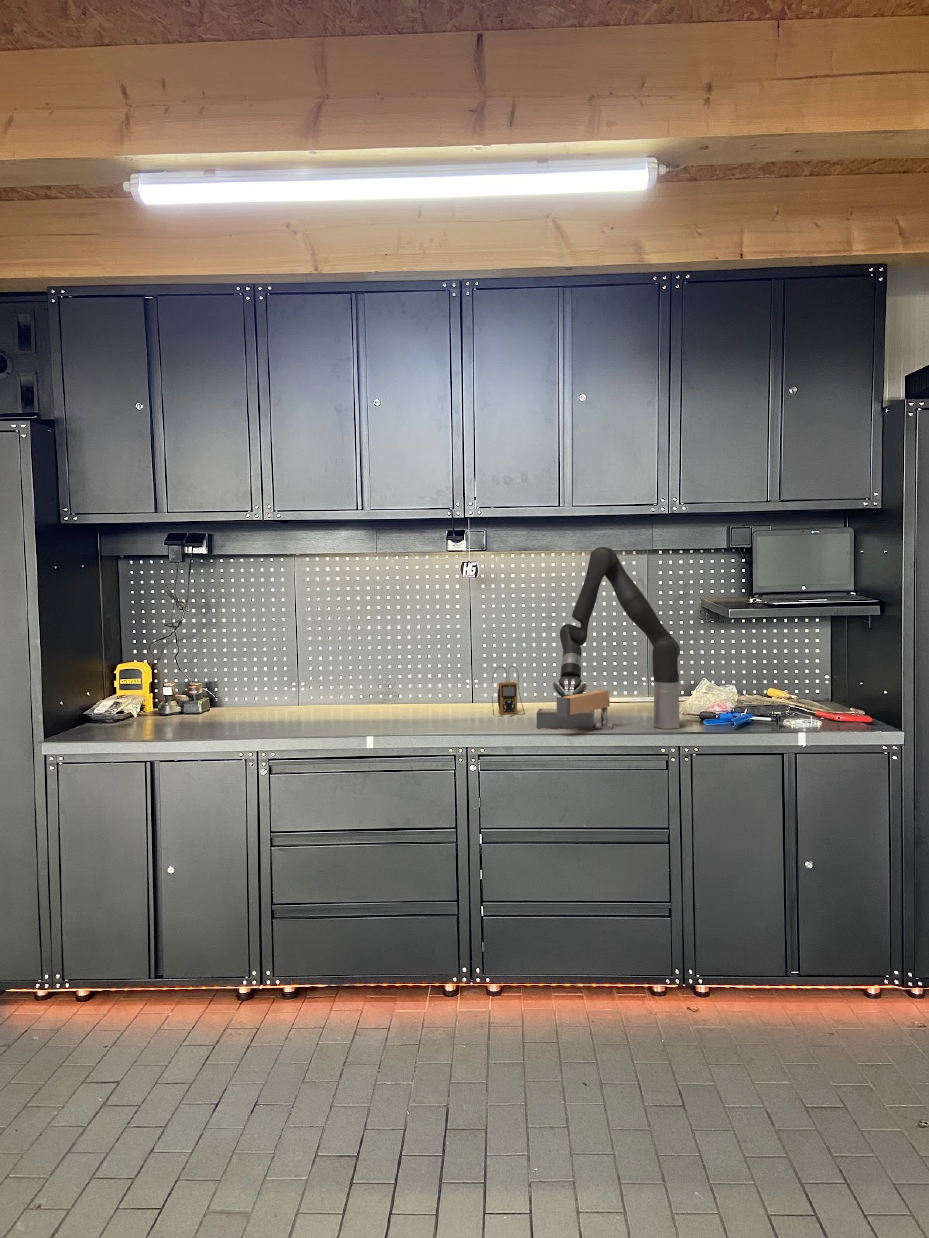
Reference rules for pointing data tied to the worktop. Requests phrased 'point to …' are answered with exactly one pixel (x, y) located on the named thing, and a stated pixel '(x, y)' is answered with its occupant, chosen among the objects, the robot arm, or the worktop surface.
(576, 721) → the dark grey brick
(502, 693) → the multimeter
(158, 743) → the worktop surface
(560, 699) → the bar
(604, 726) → the hinge post
